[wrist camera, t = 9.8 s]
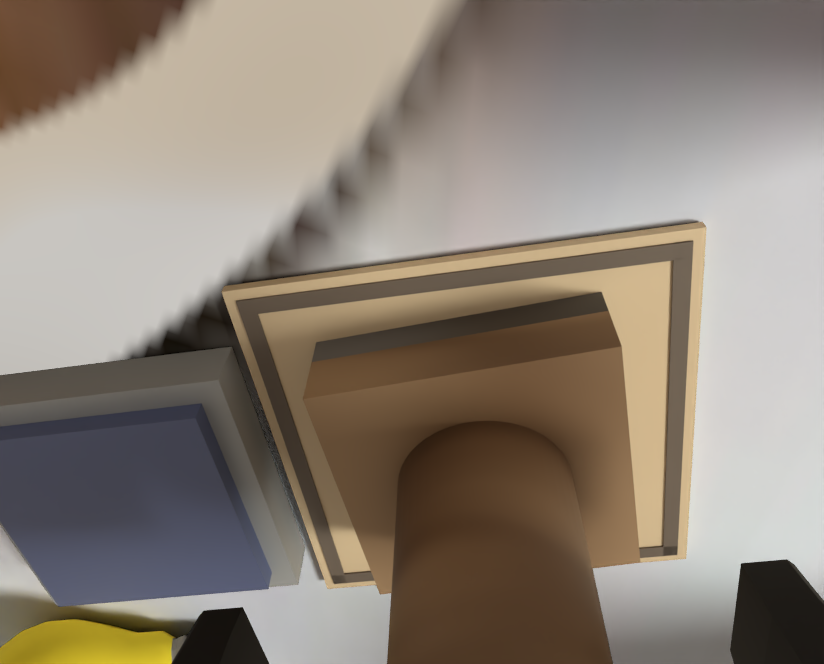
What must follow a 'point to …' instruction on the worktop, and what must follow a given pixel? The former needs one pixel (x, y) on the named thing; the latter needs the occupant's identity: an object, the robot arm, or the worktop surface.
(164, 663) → the light bulb
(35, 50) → the worktop surface
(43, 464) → the ink pad
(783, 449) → the worktop surface
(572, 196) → the worktop surface
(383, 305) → the card sheet
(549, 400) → the stamp
